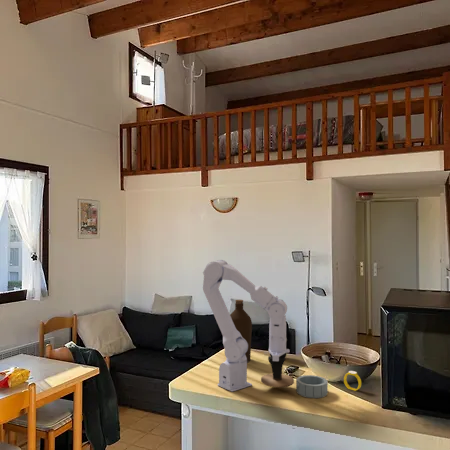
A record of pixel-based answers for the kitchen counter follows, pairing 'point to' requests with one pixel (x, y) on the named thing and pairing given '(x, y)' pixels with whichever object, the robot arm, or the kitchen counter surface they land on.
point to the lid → (277, 380)
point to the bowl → (311, 386)
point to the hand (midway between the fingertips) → (277, 376)
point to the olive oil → (242, 324)
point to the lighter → (325, 358)
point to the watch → (355, 376)
